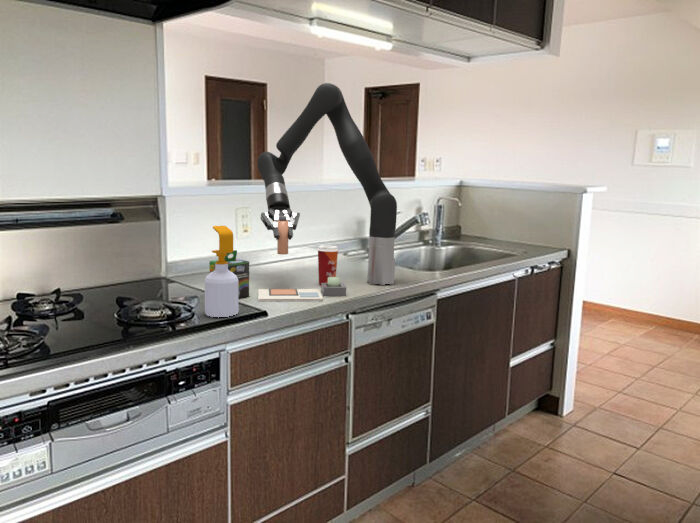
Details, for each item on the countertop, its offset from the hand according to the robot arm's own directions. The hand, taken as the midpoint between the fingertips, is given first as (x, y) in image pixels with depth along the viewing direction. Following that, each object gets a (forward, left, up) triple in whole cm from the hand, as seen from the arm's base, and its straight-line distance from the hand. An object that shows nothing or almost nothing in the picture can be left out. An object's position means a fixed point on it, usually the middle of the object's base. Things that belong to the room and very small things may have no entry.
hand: (284, 238), depth 188 cm
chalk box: (+17, +8, -18) cm, 26 cm away
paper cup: (-16, -9, -18) cm, 25 cm away
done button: (-16, +5, -16) cm, 24 cm away
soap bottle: (+18, +30, -18) cm, 40 cm away
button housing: (-16, +5, -18) cm, 25 cm away
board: (-2, +8, -18) cm, 20 cm away
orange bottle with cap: (0, -2, -6) cm, 6 cm away
